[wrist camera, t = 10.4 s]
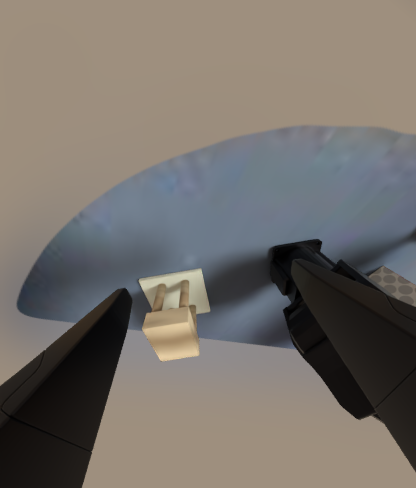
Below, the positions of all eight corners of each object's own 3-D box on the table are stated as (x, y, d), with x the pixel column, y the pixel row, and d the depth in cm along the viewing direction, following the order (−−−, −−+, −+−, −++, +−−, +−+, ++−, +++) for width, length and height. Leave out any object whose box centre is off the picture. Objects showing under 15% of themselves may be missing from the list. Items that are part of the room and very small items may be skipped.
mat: (201, 268, 23) (201, 270, 23) (210, 309, 28) (210, 311, 28) (139, 278, 24) (138, 281, 23) (158, 317, 28) (157, 320, 28)
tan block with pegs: (198, 309, 27) (199, 355, 21) (168, 314, 27) (161, 361, 21) (189, 277, 24) (187, 321, 17) (155, 283, 24) (141, 329, 18)
